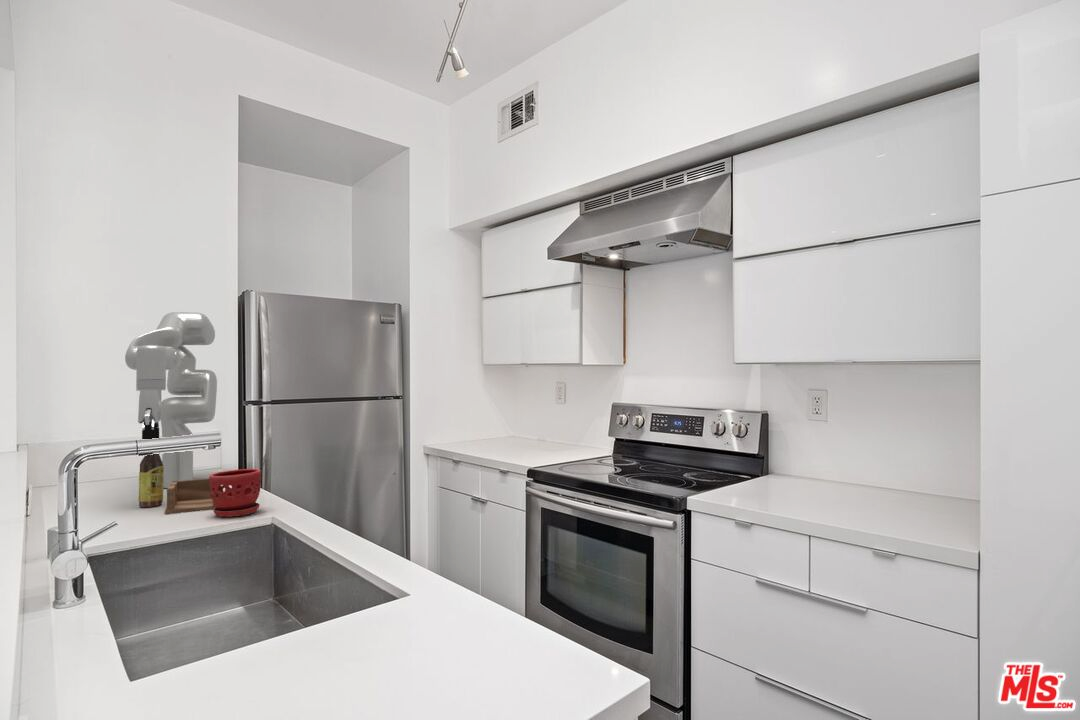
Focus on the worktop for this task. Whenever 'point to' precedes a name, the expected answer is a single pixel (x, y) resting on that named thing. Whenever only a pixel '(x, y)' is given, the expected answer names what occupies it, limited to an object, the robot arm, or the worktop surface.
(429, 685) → the worktop surface
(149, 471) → the sauce bottle
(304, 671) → the worktop surface
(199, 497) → the u rest
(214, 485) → the plant pot
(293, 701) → the worktop surface
